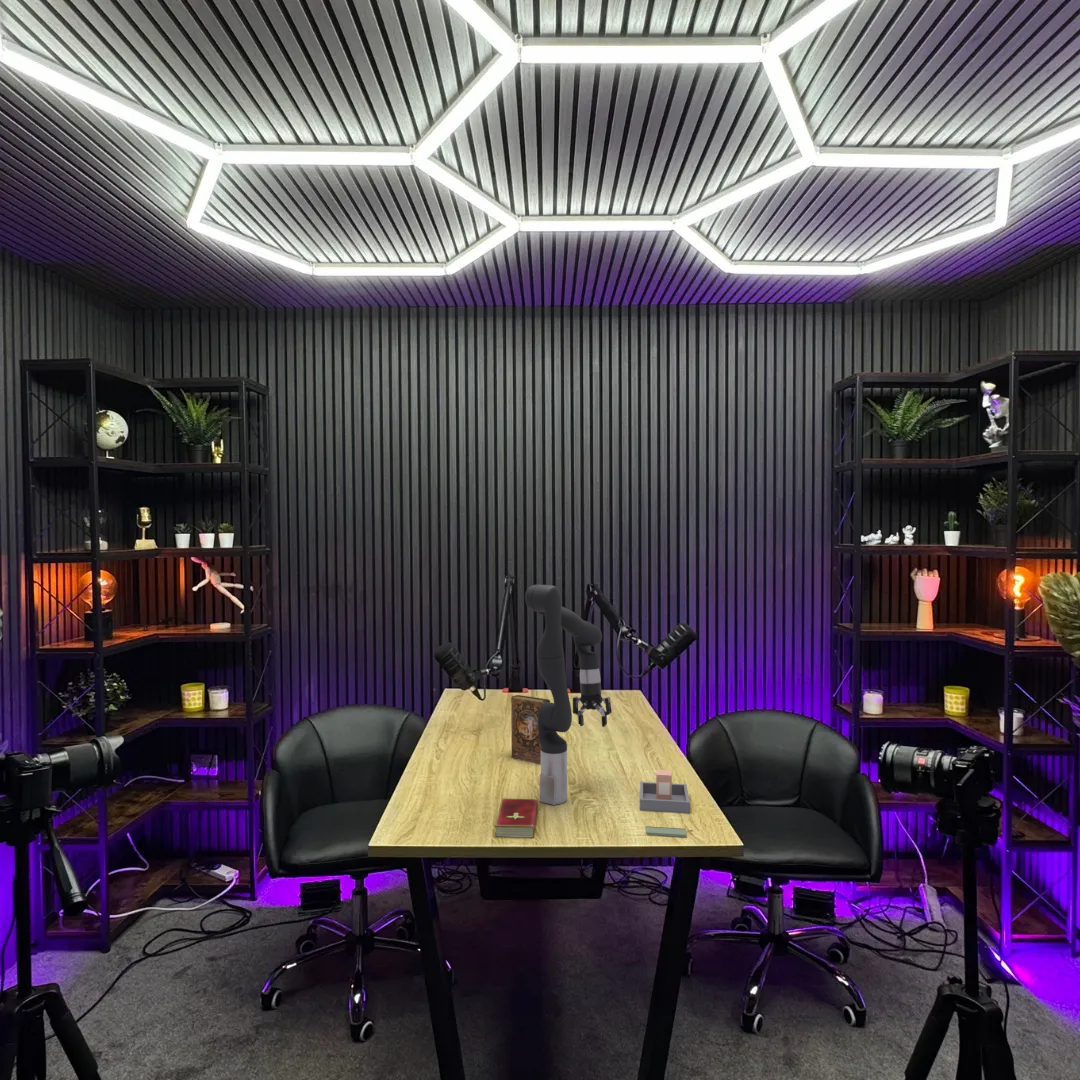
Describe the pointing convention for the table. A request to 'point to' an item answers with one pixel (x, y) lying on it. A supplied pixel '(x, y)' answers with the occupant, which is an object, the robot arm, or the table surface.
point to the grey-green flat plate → (666, 831)
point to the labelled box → (663, 784)
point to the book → (525, 728)
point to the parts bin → (675, 805)
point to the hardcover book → (516, 818)
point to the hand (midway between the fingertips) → (592, 726)
